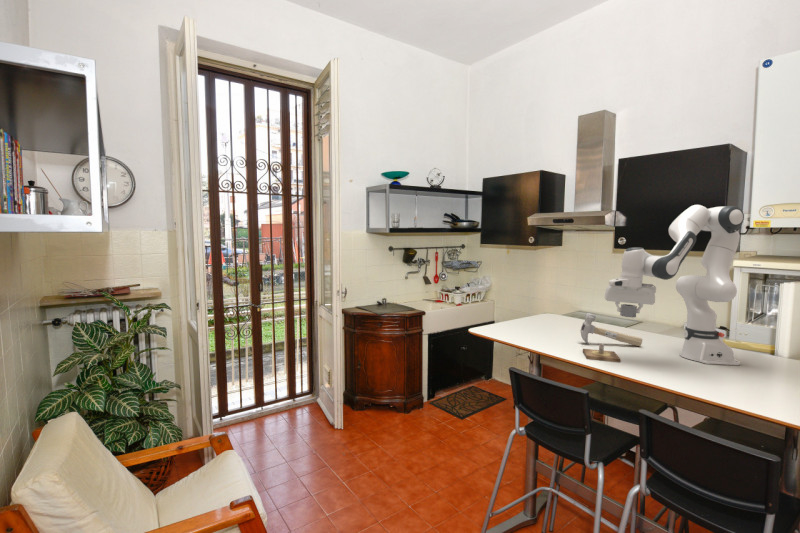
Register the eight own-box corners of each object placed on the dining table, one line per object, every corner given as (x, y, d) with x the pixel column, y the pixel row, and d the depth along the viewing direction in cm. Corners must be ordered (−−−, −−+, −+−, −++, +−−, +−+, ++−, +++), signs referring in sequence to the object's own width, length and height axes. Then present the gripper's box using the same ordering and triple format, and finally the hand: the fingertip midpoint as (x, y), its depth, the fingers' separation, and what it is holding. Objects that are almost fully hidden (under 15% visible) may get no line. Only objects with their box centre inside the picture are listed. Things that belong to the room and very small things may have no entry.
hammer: (642, 327, 212) (585, 312, 214) (646, 329, 208) (588, 313, 210) (632, 355, 214) (576, 340, 216) (637, 358, 210) (579, 342, 211)
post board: (614, 354, 196) (615, 341, 195) (620, 362, 184) (621, 348, 184) (582, 351, 199) (583, 338, 199) (586, 358, 188) (587, 345, 187)
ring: (633, 315, 190) (634, 304, 189) (637, 317, 184) (638, 307, 184) (619, 314, 191) (620, 303, 191) (622, 316, 186) (623, 305, 185)
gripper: (654, 283, 187) (651, 313, 188) (605, 280, 192) (602, 309, 193) (658, 285, 181) (655, 315, 182) (608, 281, 186) (605, 311, 187)
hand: (628, 312), depth 188 cm, fingers closed on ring, 6 cm apart
